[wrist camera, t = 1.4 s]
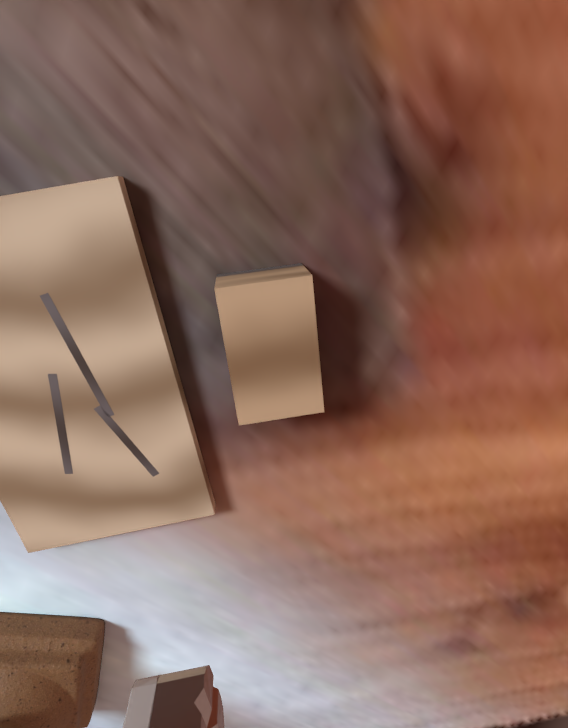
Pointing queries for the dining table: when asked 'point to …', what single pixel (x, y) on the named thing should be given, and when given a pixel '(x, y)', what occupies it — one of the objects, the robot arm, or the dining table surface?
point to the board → (88, 375)
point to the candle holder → (49, 670)
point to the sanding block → (271, 342)
